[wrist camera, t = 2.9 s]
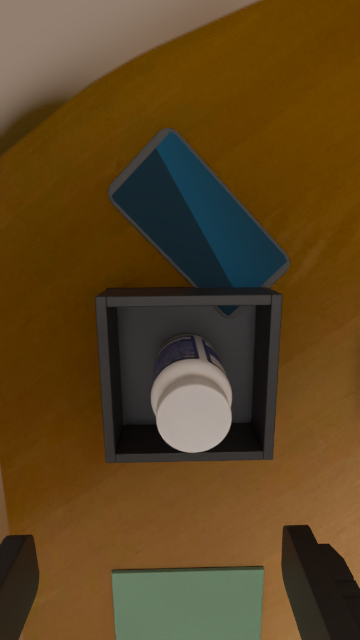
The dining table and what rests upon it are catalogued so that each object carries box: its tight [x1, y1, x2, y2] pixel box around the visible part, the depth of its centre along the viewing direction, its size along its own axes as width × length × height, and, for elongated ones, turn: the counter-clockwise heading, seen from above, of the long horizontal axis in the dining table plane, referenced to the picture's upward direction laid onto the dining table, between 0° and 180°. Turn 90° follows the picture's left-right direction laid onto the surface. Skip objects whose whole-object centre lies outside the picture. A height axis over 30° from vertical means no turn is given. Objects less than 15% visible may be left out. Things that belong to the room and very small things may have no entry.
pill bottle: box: [151, 334, 232, 453], centre depth 25 cm, size 6×6×10 cm
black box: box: [95, 287, 282, 463], centre depth 28 cm, size 14×14×5 cm
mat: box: [112, 566, 264, 640], centre depth 37 cm, size 16×12×1 cm
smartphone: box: [108, 128, 290, 319], centre depth 28 cm, size 8×15×1 cm, turn 45°
